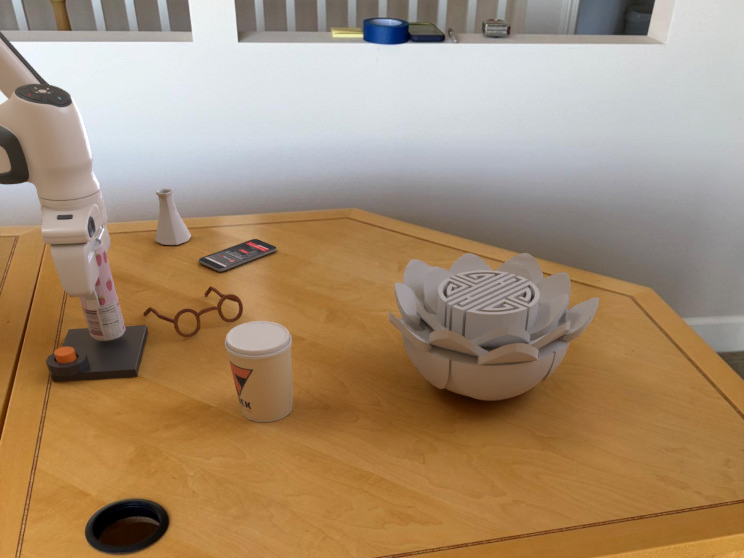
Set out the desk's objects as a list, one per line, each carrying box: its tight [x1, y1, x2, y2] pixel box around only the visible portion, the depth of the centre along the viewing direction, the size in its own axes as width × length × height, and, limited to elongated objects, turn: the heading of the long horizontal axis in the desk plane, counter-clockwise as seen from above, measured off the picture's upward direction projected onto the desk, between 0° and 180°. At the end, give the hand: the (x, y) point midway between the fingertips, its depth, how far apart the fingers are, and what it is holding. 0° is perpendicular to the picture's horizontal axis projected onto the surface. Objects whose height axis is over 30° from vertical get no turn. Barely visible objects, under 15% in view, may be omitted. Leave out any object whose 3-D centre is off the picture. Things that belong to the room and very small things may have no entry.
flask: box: [154, 187, 192, 246], centre depth 161 cm, size 7×7×10 cm
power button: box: [53, 346, 77, 364], centre depth 121 cm, size 3×3×2 cm
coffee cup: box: [224, 320, 294, 423], centre depth 112 cm, size 9×9×12 cm
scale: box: [45, 324, 149, 383], centre depth 126 cm, size 14×16×3 cm
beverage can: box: [79, 238, 126, 341], centre depth 123 cm, size 6×6×15 cm
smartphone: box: [198, 238, 277, 273], centre depth 157 cm, size 7×1×15 cm
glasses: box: [142, 286, 244, 339], centre depth 136 cm, size 13×13×5 cm
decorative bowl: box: [388, 252, 600, 402], centre depth 118 cm, size 30×30×15 cm
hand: (98, 298), depth 124 cm, fingers closed on beverage can, 5 cm apart
